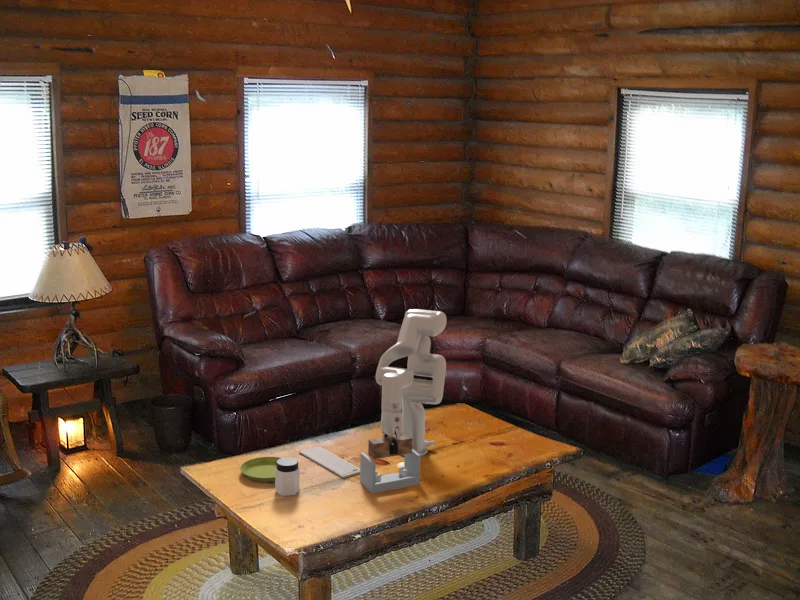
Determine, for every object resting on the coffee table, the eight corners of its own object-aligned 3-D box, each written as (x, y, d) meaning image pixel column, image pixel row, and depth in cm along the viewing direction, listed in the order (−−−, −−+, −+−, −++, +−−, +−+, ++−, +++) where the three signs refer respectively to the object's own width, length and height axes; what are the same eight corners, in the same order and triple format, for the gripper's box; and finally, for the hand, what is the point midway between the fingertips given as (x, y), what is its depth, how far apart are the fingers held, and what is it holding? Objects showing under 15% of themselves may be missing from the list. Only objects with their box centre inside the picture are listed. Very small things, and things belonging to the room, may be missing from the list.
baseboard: (323, 448, 384) (299, 454, 377) (323, 441, 384) (299, 448, 376) (368, 472, 361) (343, 480, 354) (368, 465, 360) (343, 473, 353)
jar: (276, 497, 337) (276, 466, 334) (274, 487, 344) (274, 457, 342) (300, 495, 339) (300, 465, 336) (298, 485, 346) (298, 456, 344)
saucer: (304, 476, 356) (304, 468, 355) (259, 490, 342) (259, 482, 342) (274, 459, 371) (274, 451, 370) (230, 472, 357) (230, 464, 357)
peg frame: (406, 473, 360) (407, 444, 357) (419, 484, 350) (420, 455, 347) (360, 482, 351) (360, 452, 348) (372, 493, 341) (372, 463, 339)
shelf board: (406, 448, 353) (406, 433, 352) (412, 453, 349) (412, 438, 347) (368, 454, 346) (368, 439, 345) (373, 459, 342) (374, 444, 340)
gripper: (410, 411, 337) (409, 457, 341) (390, 397, 352) (389, 442, 356) (392, 414, 334) (391, 460, 338) (372, 400, 349) (371, 445, 353)
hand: (390, 450), depth 347 cm, fingers closed on shelf board, 5 cm apart
